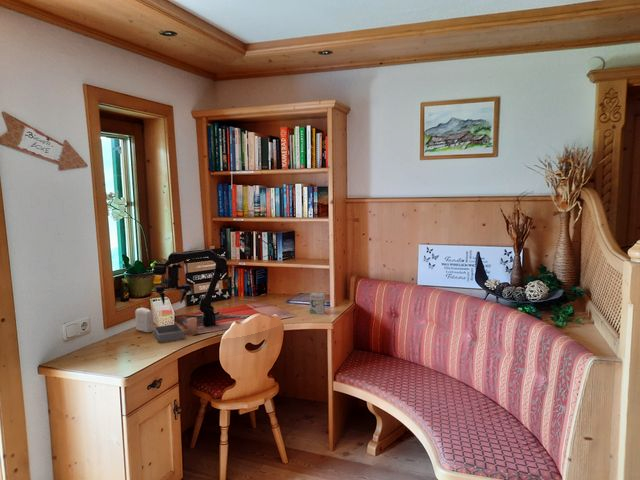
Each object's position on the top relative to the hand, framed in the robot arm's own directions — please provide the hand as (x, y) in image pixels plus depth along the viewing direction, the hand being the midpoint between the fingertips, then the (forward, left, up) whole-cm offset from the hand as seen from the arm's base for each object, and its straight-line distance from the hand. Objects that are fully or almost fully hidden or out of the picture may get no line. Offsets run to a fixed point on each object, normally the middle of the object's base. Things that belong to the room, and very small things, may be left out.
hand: (172, 303), depth 253 cm
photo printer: (+15, -2, -13) cm, 20 cm away
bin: (+6, +15, -13) cm, 21 cm away
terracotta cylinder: (-6, +16, -13) cm, 22 cm away
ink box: (-81, +17, -13) cm, 84 cm away
